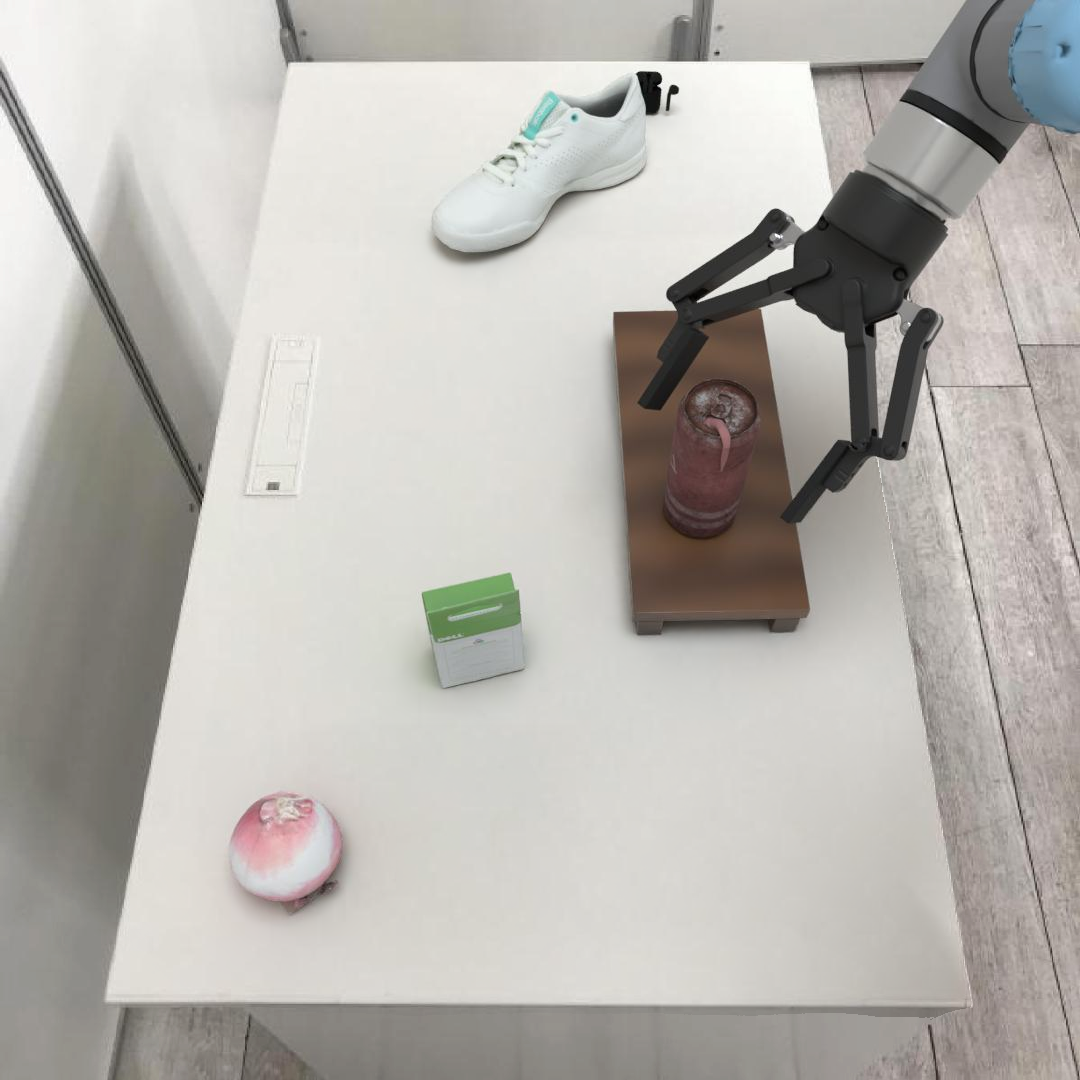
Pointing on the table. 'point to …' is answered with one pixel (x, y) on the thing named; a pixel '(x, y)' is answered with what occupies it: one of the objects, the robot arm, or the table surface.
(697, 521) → the can
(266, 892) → the onion
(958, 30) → the robot arm
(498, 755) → the table surface
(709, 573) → the shelf
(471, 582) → the ink box
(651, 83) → the wireless earbuds
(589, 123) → the running shoe
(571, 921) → the table surface
